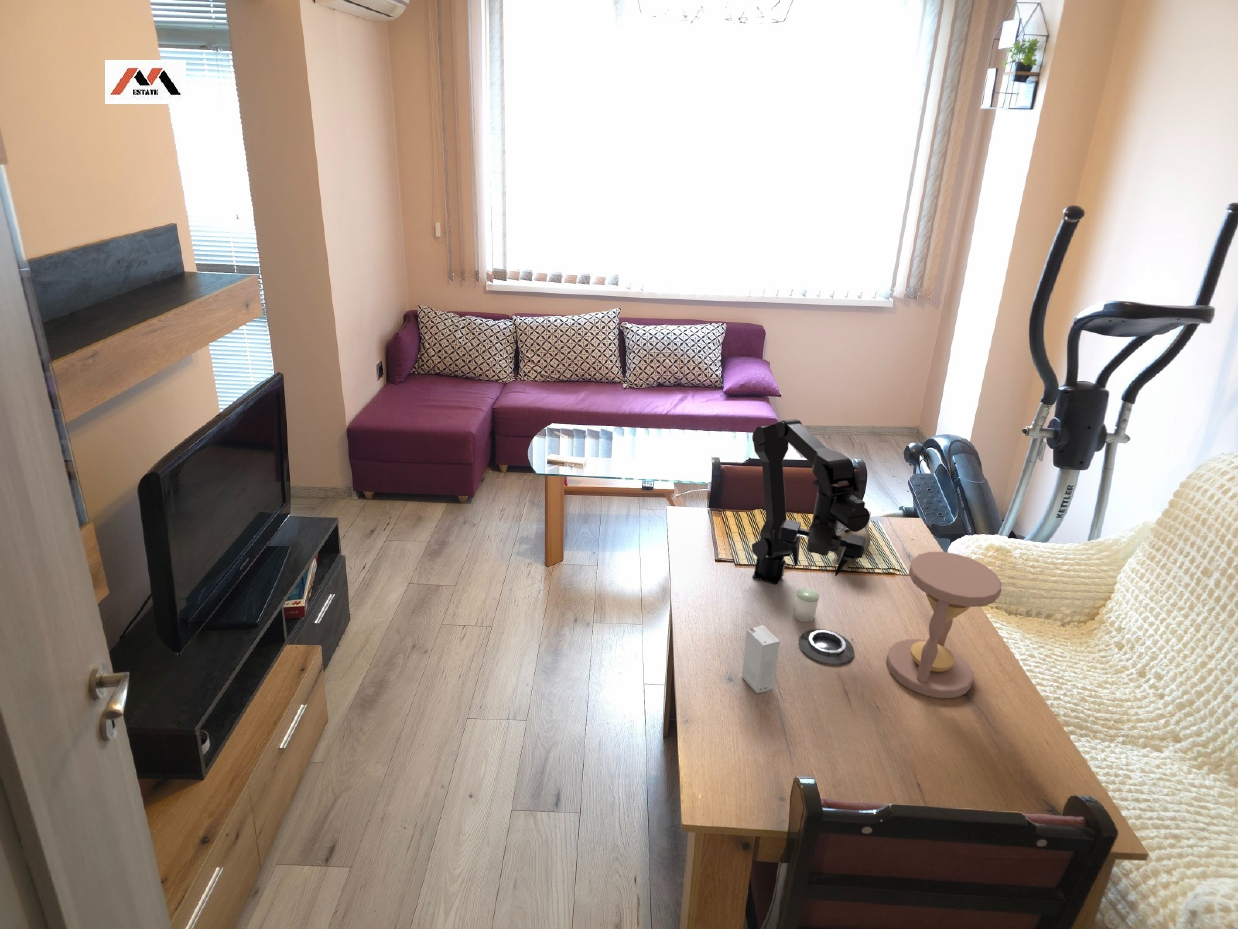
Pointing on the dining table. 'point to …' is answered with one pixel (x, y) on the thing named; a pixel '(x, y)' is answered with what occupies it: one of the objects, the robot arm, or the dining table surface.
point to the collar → (826, 647)
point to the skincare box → (760, 659)
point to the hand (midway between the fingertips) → (815, 570)
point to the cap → (805, 604)
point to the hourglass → (942, 623)
